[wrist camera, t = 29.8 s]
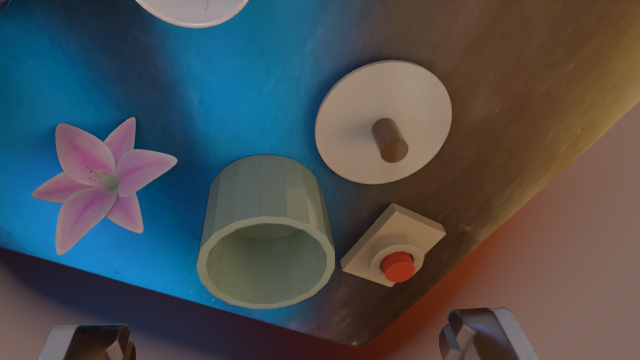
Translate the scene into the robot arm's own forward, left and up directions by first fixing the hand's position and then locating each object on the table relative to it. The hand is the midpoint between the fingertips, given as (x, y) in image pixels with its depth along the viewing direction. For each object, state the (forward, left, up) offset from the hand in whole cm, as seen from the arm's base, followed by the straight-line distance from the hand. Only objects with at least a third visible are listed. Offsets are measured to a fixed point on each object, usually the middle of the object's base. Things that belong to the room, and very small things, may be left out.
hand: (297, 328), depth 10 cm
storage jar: (+9, +18, -29) cm, 35 cm away
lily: (+19, +6, -29) cm, 35 cm away
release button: (-2, +31, -26) cm, 40 cm away
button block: (-2, +31, -29) cm, 43 cm away
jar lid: (-6, +14, -28) cm, 32 cm away
